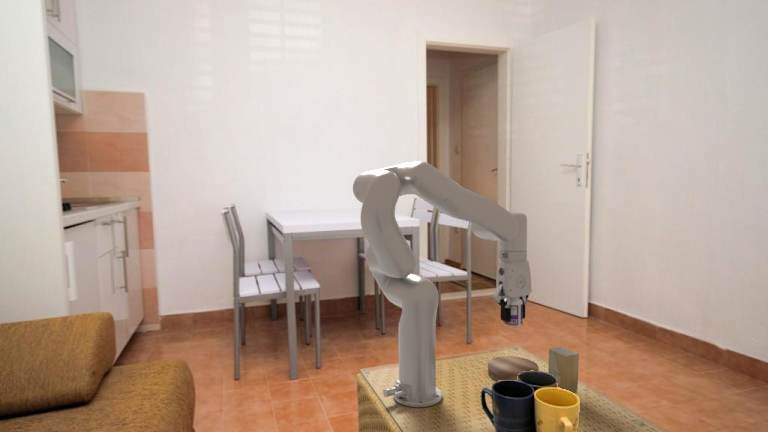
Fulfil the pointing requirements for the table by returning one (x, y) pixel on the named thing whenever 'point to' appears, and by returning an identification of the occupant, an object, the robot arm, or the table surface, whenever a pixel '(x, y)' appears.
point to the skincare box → (564, 368)
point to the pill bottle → (515, 313)
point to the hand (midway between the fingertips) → (512, 318)
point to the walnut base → (509, 367)
